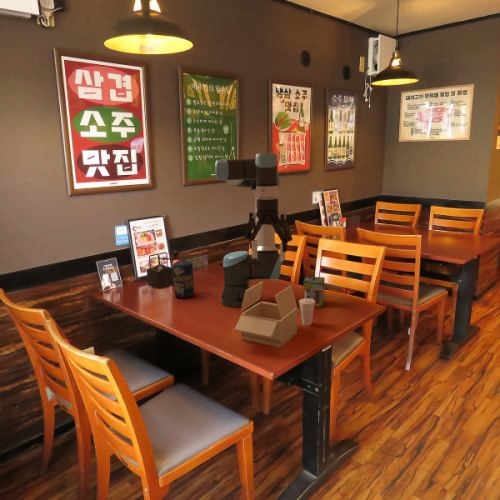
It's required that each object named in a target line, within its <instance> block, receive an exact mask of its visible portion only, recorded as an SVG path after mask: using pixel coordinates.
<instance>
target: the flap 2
mask: <svg viewBox="0 0 500 500" xmlns="http://www.w3.org/2000/svg"><path fill="white" fill-rule="evenodd" d="M276 325H277V322H274V321H269V320H264V319H259V318H253V317H248V316H243V315H241V314H240V316H239V319H238V320H237V323H236V325H235V327H234V331H240V332H242V331H243V332H248V333H253V334H257V335H262V336H267V337H272V335H273V332H274V330H275V328H276Z"/></svg>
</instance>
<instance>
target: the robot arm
mask: <svg viewBox="0 0 500 500" xmlns="http://www.w3.org/2000/svg"><path fill="white" fill-rule="evenodd" d="M278 165H279V162H278V154H277V153H276V152H260V153H259V152H258V153H256V155H255V158H239V159H238V158H237V159H236V158H233V159H224V158H223V159H217V160H216V161H215V165H214V166H215V167H214V169H215V178H216V180H217V181H225V182H226V183H227V184H229V185H231V186H234V187H237V188H243V189H244V188H250V189H251V190H250V191H251V193H253V195H254V211H251V212H249V213H248V217H249V219H248V223H247V226H246V230H245V233H244V239H247V240H248V241H249V248H250V249H251V254H250V253H249V251H247V250H239V251H234V252H233V251H232V252H229V253H226V255H224V257H223V264H222V268H223V282H224V283H223V284H224V285H223V290H222V293H221V296H220V299H221V301H220V302H221V304H222V305H223V306H225V307H230V308H242V304H243V299H244V294H245V291H246V290H248V289H249V288H251V286H250V281H266V280H268V281H270V280H277V279H279V278H280V276H281V271H282V262H284V261H286V253H287V252H288V243H289V242H292V241H293V235H292V232H291V229H290V226H289V223H288V219H287V216H288V215H287V213H286V212H285V213H279V211H278V210H279V199H278V197H279V189H278V188H279V187H280V186H281V185H280V174H279V168H278ZM278 219H279V220H280V222H279V221H278ZM280 224H281V225H280ZM254 225H255V226H254ZM275 232H276V234H275ZM275 235H277V236H278V238H279V240H280V243H279V248H277V246H276V236H275Z"/></svg>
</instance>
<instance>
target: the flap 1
mask: <svg viewBox="0 0 500 500" xmlns="http://www.w3.org/2000/svg"><path fill="white" fill-rule="evenodd" d="M263 286H264V280H261V281H260V282H258V283H257V284H255V285H252V286H250V288H249V289H248V290H246V291H245V294H244V299H243V304H242V307H240V311H241V312H244V311H246V310H247V309H249V308H250V307H251V306H252V305H255V304H256V303H257V302H258V301H259V302H260V298H261V294H262V290H263Z"/></svg>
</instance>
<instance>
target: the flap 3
mask: <svg viewBox="0 0 500 500" xmlns="http://www.w3.org/2000/svg"><path fill="white" fill-rule="evenodd" d="M274 299H275V303H276V304H277V306H278V310H279V314H280V318H283V317H284V316H285V315H286V314H288V313H289V312H290V311H291V310H293V309H294V308H295V307H297V308H298V304H297V300H296V297H295V293H294V289H293V286H292V285H289V286H288V287H285V288H284V289H283V290H281V291H280V292H278V293H277V294H276V295H274Z"/></svg>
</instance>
